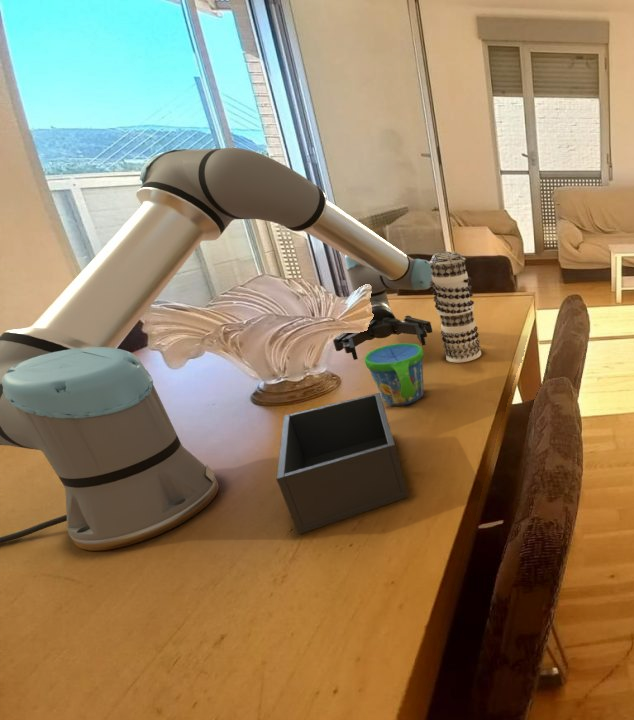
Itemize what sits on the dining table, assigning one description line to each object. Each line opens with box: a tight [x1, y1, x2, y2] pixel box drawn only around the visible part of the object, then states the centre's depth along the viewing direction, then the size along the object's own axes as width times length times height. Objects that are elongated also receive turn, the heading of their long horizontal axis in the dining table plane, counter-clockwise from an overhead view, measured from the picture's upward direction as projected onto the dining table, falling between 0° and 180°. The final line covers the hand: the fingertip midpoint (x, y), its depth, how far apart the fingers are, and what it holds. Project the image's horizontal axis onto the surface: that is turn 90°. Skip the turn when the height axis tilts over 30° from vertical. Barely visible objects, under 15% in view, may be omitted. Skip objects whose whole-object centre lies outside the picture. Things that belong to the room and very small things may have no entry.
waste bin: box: [276, 392, 409, 535], centre depth 71 cm, size 14×19×9 cm
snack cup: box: [363, 342, 424, 407], centre depth 94 cm, size 16×10×10 cm
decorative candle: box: [428, 251, 482, 364], centre depth 111 cm, size 9×9×25 cm
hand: (389, 346), depth 101 cm, fingers open, 13 cm apart
